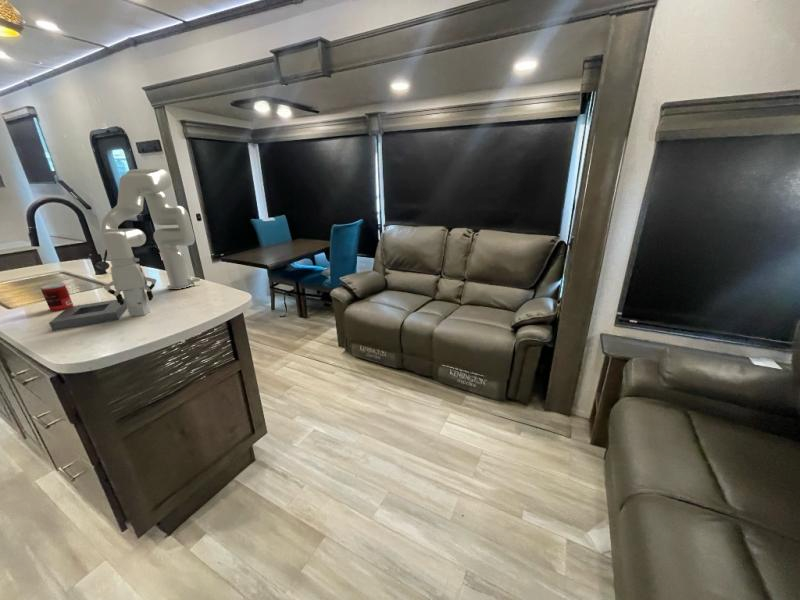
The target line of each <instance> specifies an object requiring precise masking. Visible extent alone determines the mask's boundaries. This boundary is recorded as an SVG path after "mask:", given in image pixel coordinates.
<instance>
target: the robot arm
mask: <svg viewBox="0 0 800 600" xmlns="http://www.w3.org/2000/svg"><path fill="white" fill-rule="evenodd" d="M118 181H119V182H118V192H117V203H116V205H115V206H114V207H113V208H112V209H110V210H109V211H108V213H107V214H105V216H104V218H103V219H102V223H101V230H100V238H101V241H102V242H103V244H104V246H105V249H106V252H107V255H108V258H109V261H110V263H111V267H110V273H111V279H112V281H110V282H109V283H107V284H106V285H103V289H104V290H105V291H106V292H107V293H108V294H110V295H112V296H114V297H115V298H116V299H115V300H117V301H118V303H120V305H123V304H124V300H123V299H124V296H123V295H122V294H121V292H123V291H125V290H130V289H133V288H144V291H145V290H146V291H145V294H146V297H147V298H148V299H147V300H148V301H152V300H153V298H154V295H153V291H152V290H153V289H154V287H155V285H156V283H157V279H156V278H151V277H148V276H145V273H144V270H143V268H142V267H141V265H140V263H138V262H140V258H139V257H135V255H134V252H133V249H132V248H137V247H141V246H143V245H144V244H146V241H147V236H146V233H145V232H144V231H143V230H141V229H140V228H118V227H119V226H120V225H121V224H122V223H123V222H124V221H127V220H128V219H131V218H133V217H136V216H137V215H140V214H141V213H142V212H144V211H143V210H144V201H146V205H147V208H148V211H149V214H150V217H151V220H152V222H153V223H154V224H155V225H156V226H178V227H162V228H158V229H156V230H154V232H153V240H154V242H155V244H156V245H157V247H158V249H159V252H160V256H161V258H162V262H163V265H164V269H165V271H166V275H167V278H168V281H169V282H168V283H169V285H167V287H166V288H167V290H169V289H180V290H182V289H181V288H185V289H187V288H186V287H189V286H192V285H194V284H195V283H196V282H201V278H200V277H194V278H193V277H191V276H190V274H189V269H188V266H187V263H186V259H185V256H184V253H183V251H182V250H181V248H179V247H187V246H188V247H189V246H192V245H194V244H195V239H196V238H195V234H194V233H195V232H194V230H193V227H192V226H193V225H192V223H191V219H190V215H189V213H188V210H186V208H185V207H184V206H182V205H170V204H169V202H168V199H167V195H166V194H165V193H164V191H165V190H167V189H169V188H170V187H171V186H172V182H173V181H172V176H171V175H170V173H169V172H168V171H167V170H166V169H163V168H135V169H130V170H128V171H126V173H125V174H122V175H121V177H120V178H119V180H118ZM148 282H150V283H151V284H150V285H148ZM112 286H114V289H112V288H111V287H112ZM194 286H195V285H194ZM192 287H193V286H192ZM189 288H190V287H189Z"/></svg>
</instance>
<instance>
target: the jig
mask: <svg viewBox="0 0 800 600" xmlns="http://www.w3.org/2000/svg"><path fill="white" fill-rule="evenodd" d="M123 300H124V304H123V305H120V303H118V301H117V299H113V300H105V301H100V302H99V301H98V302H93V303H92V302H91V303H86V304H85V303H84V304H79V305H78V304H77V305H73V306H71V307H68V308H67V309H65V310H62V311H61V312H60V313H59V314H57V316H55V317H54V318H53V319H52V320H50V321H48V324H49V326H50V329H51V331H52V332H56V331H60V330H61V331H62V330H66V329H73V328H78V327H84V326H91V325H96V324H101V323H102V324H103V323H108V322H114V321H119V320H120V319H121V318H122V316H123V314H124V313H125V312H126V311H127V309H128V307H127V304H126V301H125V298H124V297H123Z"/></svg>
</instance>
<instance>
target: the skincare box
mask: <svg viewBox="0 0 800 600" xmlns="http://www.w3.org/2000/svg"><path fill="white" fill-rule="evenodd" d="M122 294H123V299H124V298H125V301H126V304H127V307H128V308H127V309H128V310H127V311H128V313H129V317H135V316H136V317H137V316H138V317H139V316H146V315H148V314H149V313H150V312H151V309H150V306H149V303H148V301H149V300H148V299H147V298H148V297H147V293H146V291H145V289H144V288H133V289H130V290H125V291H122Z"/></svg>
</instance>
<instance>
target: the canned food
mask: <svg viewBox="0 0 800 600" xmlns="http://www.w3.org/2000/svg"><path fill="white" fill-rule="evenodd" d="M40 291H41V293H42V295H43V297H44V299H45V301H46V304H47V306H48V308H49V310H50V311H51V312H60V311H61V312H62V311H64V310H65V309H67V308H68V307H71V306H74V303H73V301H72V298H71V296H70V293H69V291H68V288H67V287H66V284H65V283H64V282H63V283H62V282H58V283H52V284H51V283H50V284H46V285H43V286H41V287H40Z"/></svg>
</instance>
